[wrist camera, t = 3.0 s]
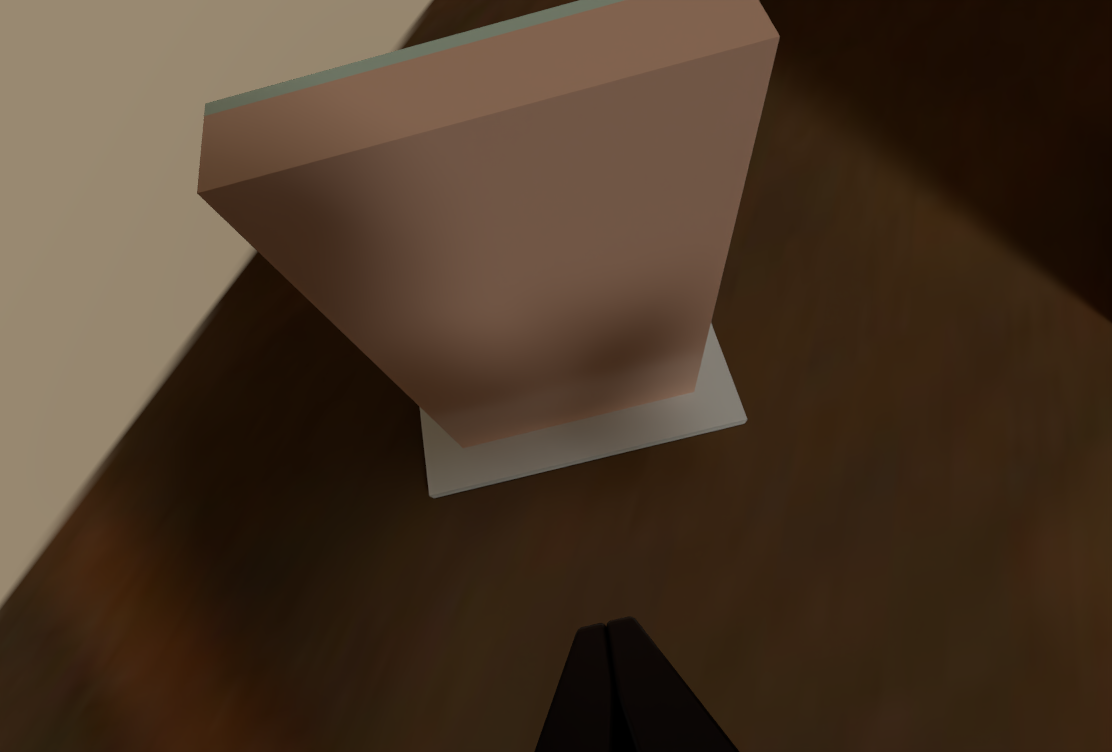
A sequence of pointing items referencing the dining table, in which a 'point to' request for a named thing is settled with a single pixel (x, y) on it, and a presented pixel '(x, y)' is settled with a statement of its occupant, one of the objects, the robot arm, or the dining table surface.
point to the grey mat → (585, 434)
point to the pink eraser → (511, 202)
